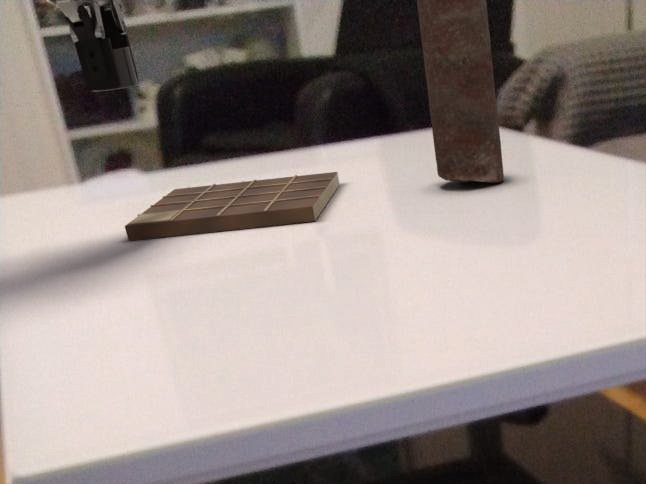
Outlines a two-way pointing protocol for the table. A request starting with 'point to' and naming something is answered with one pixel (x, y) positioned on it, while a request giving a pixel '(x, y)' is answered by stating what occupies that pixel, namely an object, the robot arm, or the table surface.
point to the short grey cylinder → (124, 67)
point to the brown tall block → (461, 90)
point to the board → (235, 206)
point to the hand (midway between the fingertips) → (113, 83)
